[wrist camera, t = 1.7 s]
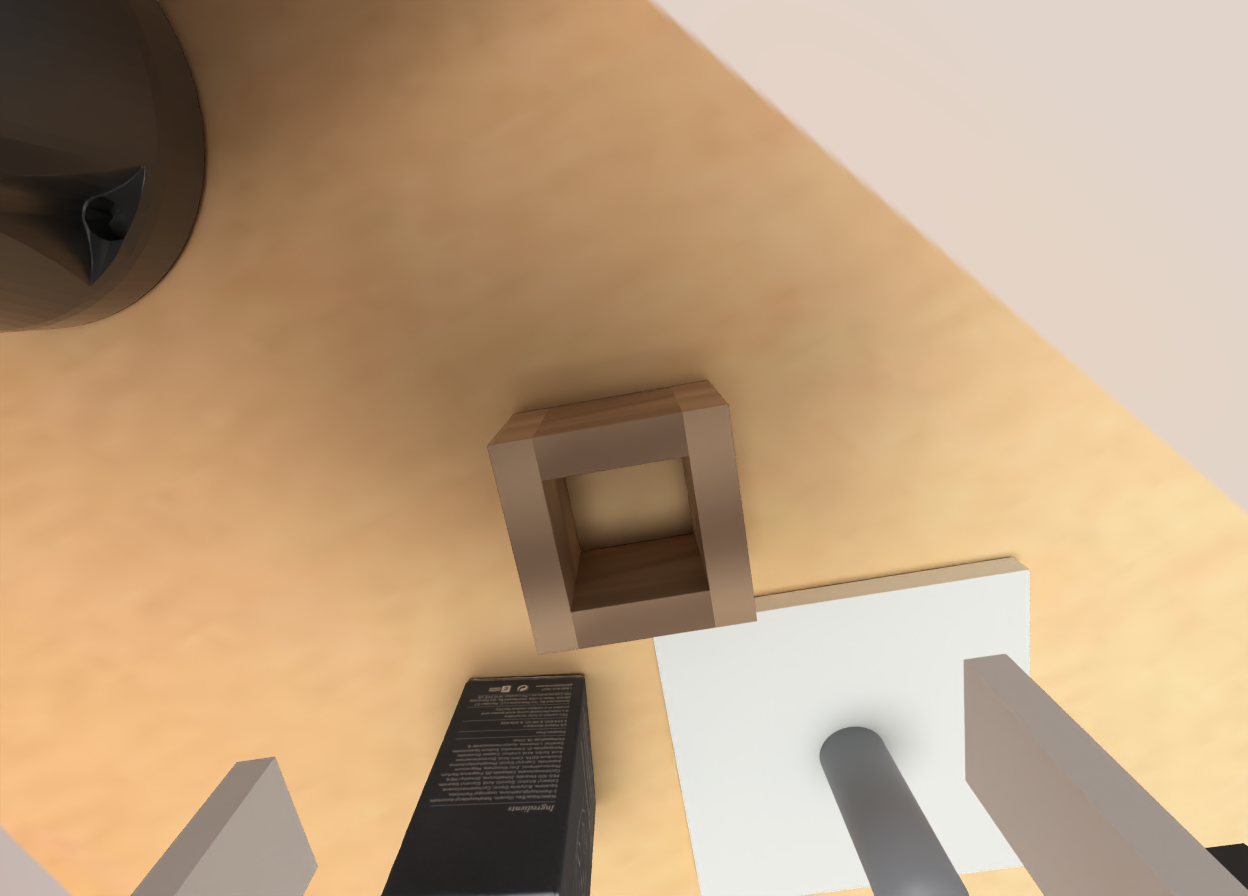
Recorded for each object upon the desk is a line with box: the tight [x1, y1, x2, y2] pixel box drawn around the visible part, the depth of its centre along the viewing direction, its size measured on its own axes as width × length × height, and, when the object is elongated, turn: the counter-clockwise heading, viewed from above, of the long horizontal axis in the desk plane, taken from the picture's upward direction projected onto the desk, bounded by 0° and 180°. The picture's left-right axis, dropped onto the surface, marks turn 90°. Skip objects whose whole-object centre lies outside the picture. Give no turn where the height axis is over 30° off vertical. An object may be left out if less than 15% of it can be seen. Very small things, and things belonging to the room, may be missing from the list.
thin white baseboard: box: [653, 557, 1030, 896], centre depth 25 cm, size 16×16×8 cm
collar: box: [487, 380, 757, 655], centre depth 23 cm, size 8×8×5 cm
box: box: [381, 675, 595, 896], centre depth 24 cm, size 8×6×11 cm
